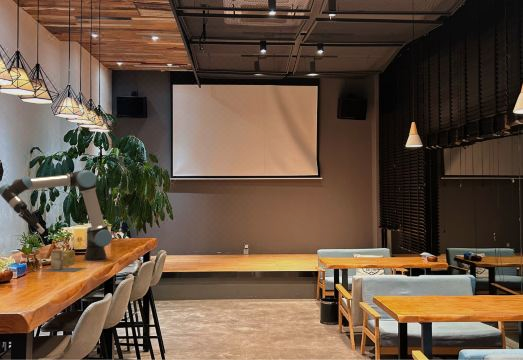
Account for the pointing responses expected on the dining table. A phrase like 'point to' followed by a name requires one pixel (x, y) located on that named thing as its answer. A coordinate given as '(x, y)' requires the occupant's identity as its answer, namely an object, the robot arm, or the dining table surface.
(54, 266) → the block
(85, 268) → the mat
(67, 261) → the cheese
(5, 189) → the robot arm
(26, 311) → the dining table surface
